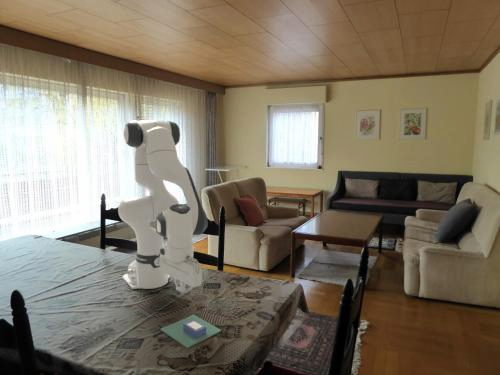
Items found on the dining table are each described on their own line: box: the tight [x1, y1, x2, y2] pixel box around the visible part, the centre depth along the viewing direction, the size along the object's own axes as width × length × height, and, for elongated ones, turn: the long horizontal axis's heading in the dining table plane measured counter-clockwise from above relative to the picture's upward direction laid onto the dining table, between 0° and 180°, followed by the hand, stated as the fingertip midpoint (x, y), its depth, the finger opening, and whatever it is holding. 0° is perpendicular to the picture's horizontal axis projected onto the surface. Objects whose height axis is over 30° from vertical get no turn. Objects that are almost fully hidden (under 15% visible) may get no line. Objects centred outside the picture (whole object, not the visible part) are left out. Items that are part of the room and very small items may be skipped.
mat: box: [159, 314, 222, 349], centre depth 122 cm, size 15×14×1 cm
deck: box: [183, 319, 206, 338], centre depth 121 cm, size 4×2×7 cm
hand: (180, 290), depth 126 cm, fingers closed
